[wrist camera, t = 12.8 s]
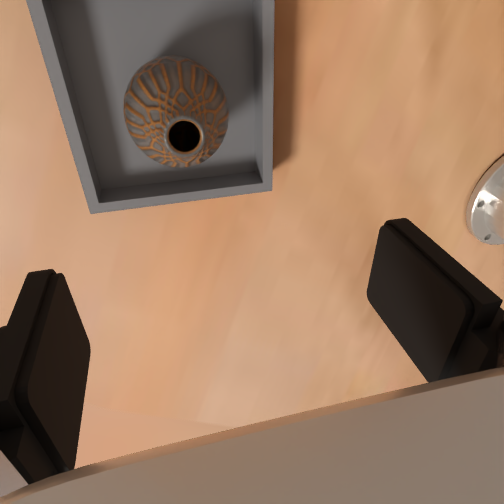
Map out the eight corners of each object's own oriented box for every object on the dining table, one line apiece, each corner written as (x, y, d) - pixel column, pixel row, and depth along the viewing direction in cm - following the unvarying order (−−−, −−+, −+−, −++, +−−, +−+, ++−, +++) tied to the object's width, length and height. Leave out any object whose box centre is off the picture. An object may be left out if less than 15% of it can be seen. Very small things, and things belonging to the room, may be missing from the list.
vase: (148, 28, 26) (152, 42, 19) (234, 82, 29) (265, 112, 22) (110, 120, 28) (101, 163, 21) (193, 160, 31) (209, 209, 24)
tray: (262, -22, 26) (274, -24, 24) (262, 176, 34) (272, 190, 32) (32, -18, 23) (20, -19, 21) (94, 196, 32) (90, 214, 29)
